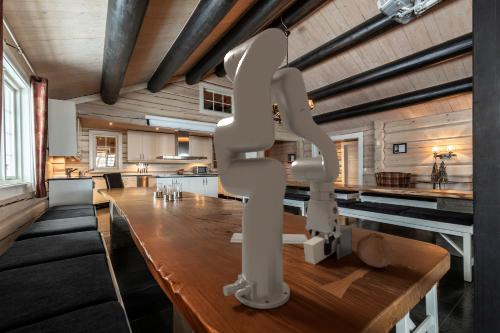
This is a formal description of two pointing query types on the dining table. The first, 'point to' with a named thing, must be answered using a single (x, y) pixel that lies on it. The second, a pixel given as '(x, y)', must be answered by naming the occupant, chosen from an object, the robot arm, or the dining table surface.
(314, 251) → the rectangular block
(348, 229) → the end cap
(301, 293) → the dining table surface
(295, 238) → the baseboard molding
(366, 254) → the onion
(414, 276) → the dining table surface
